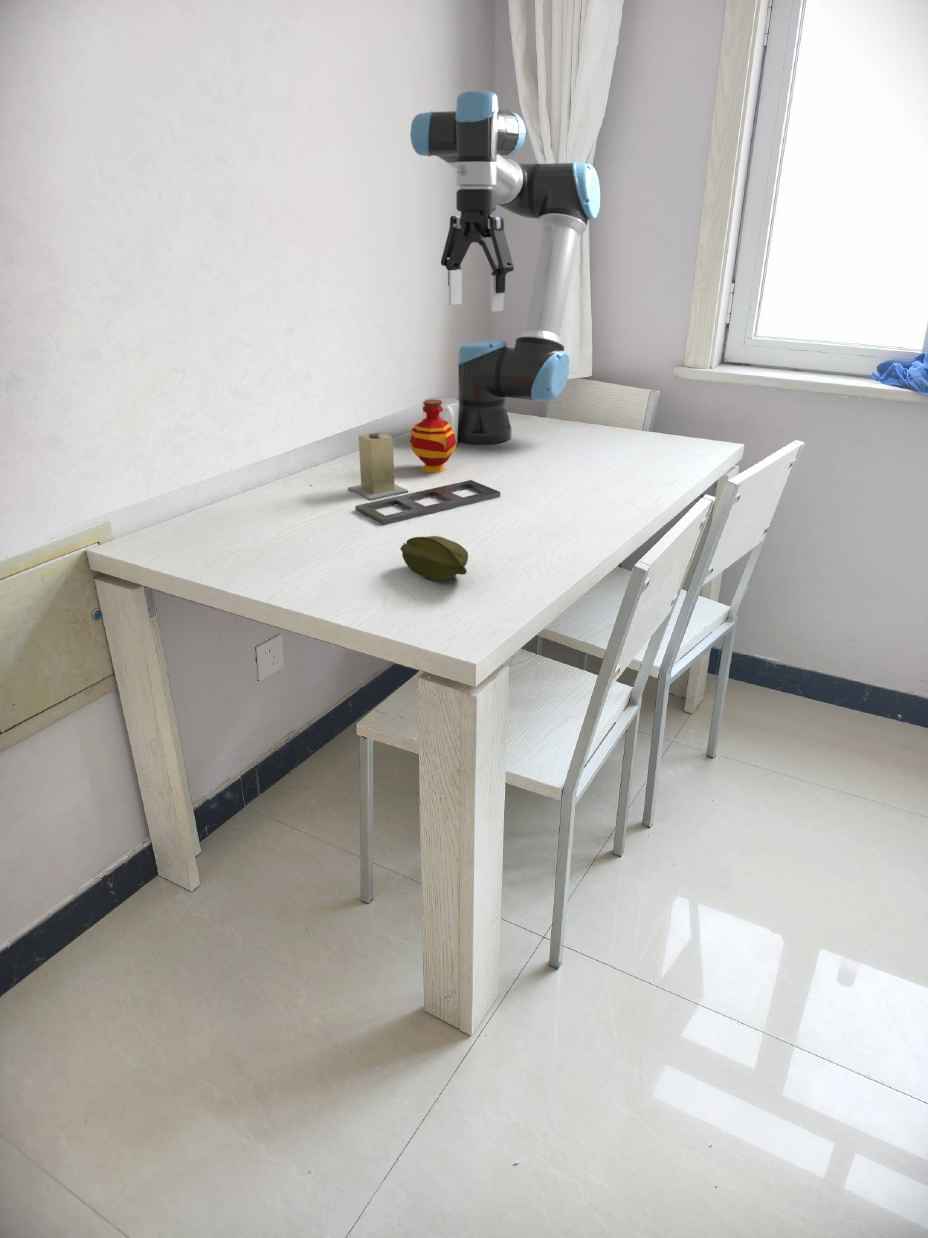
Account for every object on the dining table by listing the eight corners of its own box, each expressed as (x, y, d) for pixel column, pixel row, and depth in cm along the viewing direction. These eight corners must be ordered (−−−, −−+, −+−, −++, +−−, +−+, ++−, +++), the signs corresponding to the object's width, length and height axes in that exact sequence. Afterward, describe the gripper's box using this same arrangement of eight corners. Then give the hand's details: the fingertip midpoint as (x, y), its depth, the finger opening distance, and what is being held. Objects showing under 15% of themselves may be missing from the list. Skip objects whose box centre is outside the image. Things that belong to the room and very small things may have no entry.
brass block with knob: (361, 487, 176) (358, 433, 171) (382, 483, 179) (379, 430, 174) (373, 494, 173) (370, 439, 168) (394, 489, 175) (392, 435, 170)
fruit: (471, 563, 142) (471, 525, 139) (466, 593, 131) (466, 553, 128) (403, 560, 143) (402, 523, 140) (393, 590, 132) (391, 551, 129)
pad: (348, 489, 177) (348, 487, 177) (385, 481, 182) (385, 479, 181) (370, 500, 170) (370, 498, 170) (408, 492, 175) (408, 490, 175)
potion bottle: (458, 463, 194) (458, 396, 187) (453, 476, 185) (453, 407, 178) (413, 461, 195) (411, 395, 188) (406, 475, 186) (404, 406, 179)
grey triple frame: (355, 510, 165) (355, 505, 164) (470, 484, 180) (470, 479, 179) (382, 525, 158) (382, 519, 157) (500, 496, 173) (500, 491, 172)
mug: (417, 440, 212) (416, 398, 207) (450, 437, 215) (450, 395, 210) (434, 451, 203) (434, 408, 198) (468, 447, 206) (469, 404, 201)
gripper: (422, 188, 167) (424, 302, 176) (502, 187, 149) (500, 315, 158) (453, 188, 171) (454, 300, 180) (534, 187, 153) (530, 312, 162)
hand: (475, 307), depth 169 cm, fingers open, 13 cm apart
